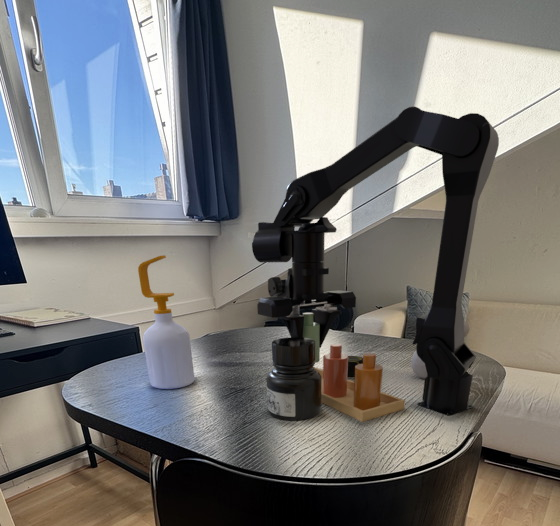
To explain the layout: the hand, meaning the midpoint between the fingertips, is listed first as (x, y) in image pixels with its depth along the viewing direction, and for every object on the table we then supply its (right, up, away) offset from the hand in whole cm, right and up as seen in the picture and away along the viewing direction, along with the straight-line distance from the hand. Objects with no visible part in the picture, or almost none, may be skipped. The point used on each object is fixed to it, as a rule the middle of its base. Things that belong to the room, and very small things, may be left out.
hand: (308, 349), depth 79 cm
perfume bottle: (+26, -5, +4) cm, 27 cm away
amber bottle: (+9, -12, -10) cm, 18 cm away
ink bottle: (-3, -13, -10) cm, 17 cm away
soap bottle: (-28, -6, +7) cm, 29 cm away
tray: (+5, -9, -4) cm, 11 cm away
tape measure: (+9, -4, +9) cm, 13 cm away
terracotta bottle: (+5, -9, -4) cm, 11 cm away
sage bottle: (0, -2, +1) cm, 2 cm away
